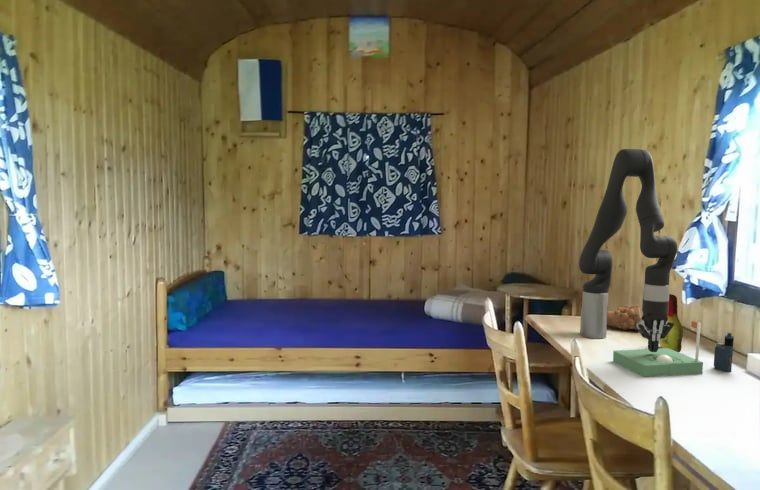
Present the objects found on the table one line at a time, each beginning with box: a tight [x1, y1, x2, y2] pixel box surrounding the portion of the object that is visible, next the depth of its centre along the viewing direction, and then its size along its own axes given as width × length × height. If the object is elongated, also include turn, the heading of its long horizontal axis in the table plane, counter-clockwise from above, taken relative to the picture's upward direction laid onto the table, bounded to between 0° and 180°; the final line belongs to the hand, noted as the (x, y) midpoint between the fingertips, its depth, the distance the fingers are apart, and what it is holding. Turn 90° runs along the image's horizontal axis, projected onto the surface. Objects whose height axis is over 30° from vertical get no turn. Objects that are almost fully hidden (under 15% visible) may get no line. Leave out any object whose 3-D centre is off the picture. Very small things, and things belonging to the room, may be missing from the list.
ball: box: [656, 355, 673, 362], centre depth 178 cm, size 5×5×5 cm
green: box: [612, 320, 704, 378], centre depth 181 cm, size 16×20×16 cm
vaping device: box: [713, 332, 735, 373], centre depth 179 cm, size 3×5×12 cm, turn 28°
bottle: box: [659, 293, 684, 353], centre depth 200 cm, size 12×6×20 cm, turn 172°
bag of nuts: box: [607, 303, 642, 331], centre depth 233 cm, size 19×11×15 cm
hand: (652, 351), depth 183 cm, fingers closed
